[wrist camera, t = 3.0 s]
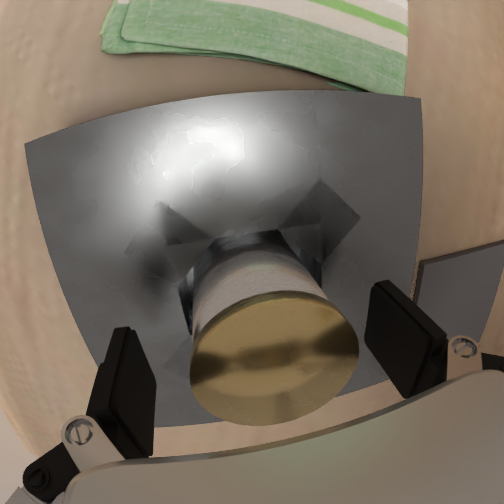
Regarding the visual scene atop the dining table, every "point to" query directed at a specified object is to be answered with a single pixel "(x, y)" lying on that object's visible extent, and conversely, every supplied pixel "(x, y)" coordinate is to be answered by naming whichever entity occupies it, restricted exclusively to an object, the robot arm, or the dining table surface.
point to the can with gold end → (264, 333)
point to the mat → (460, 289)
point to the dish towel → (274, 35)
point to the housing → (227, 211)
